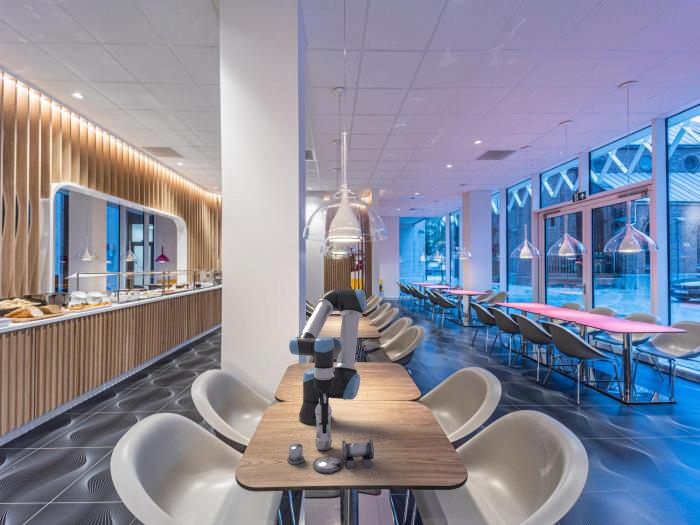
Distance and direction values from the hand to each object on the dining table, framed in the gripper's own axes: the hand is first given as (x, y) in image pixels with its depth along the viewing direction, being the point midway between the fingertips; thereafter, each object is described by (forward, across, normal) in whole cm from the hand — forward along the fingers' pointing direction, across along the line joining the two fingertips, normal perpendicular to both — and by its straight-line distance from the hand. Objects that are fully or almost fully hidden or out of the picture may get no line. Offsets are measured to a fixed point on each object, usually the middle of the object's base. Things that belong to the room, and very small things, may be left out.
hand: (323, 436), depth 142 cm
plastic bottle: (+5, 0, 0) cm, 5 cm away
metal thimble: (+5, -8, +11) cm, 14 cm away
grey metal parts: (+5, -13, -6) cm, 15 cm away
